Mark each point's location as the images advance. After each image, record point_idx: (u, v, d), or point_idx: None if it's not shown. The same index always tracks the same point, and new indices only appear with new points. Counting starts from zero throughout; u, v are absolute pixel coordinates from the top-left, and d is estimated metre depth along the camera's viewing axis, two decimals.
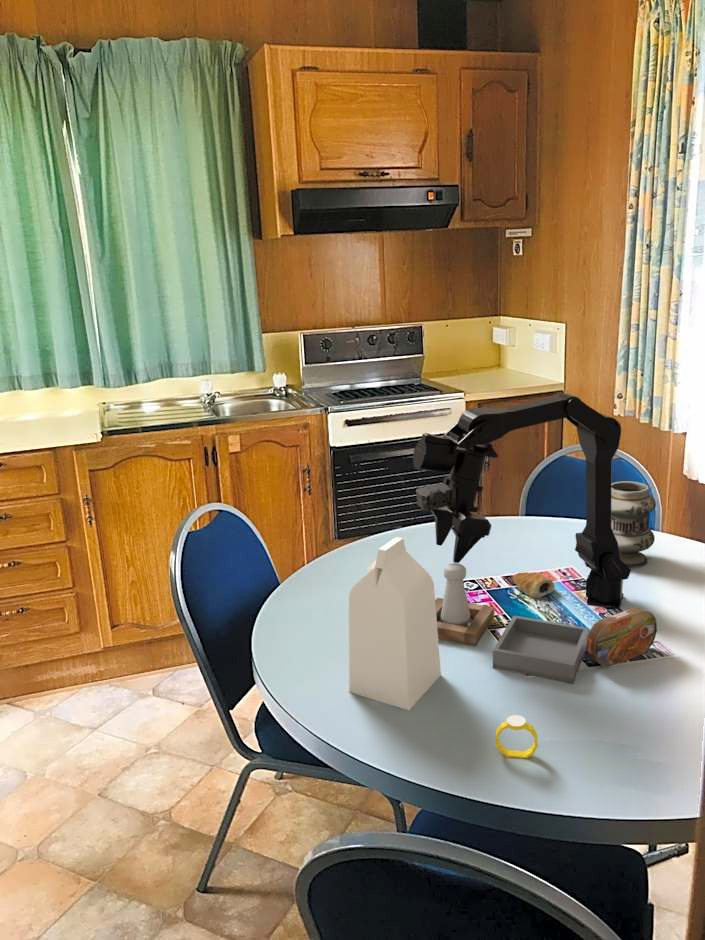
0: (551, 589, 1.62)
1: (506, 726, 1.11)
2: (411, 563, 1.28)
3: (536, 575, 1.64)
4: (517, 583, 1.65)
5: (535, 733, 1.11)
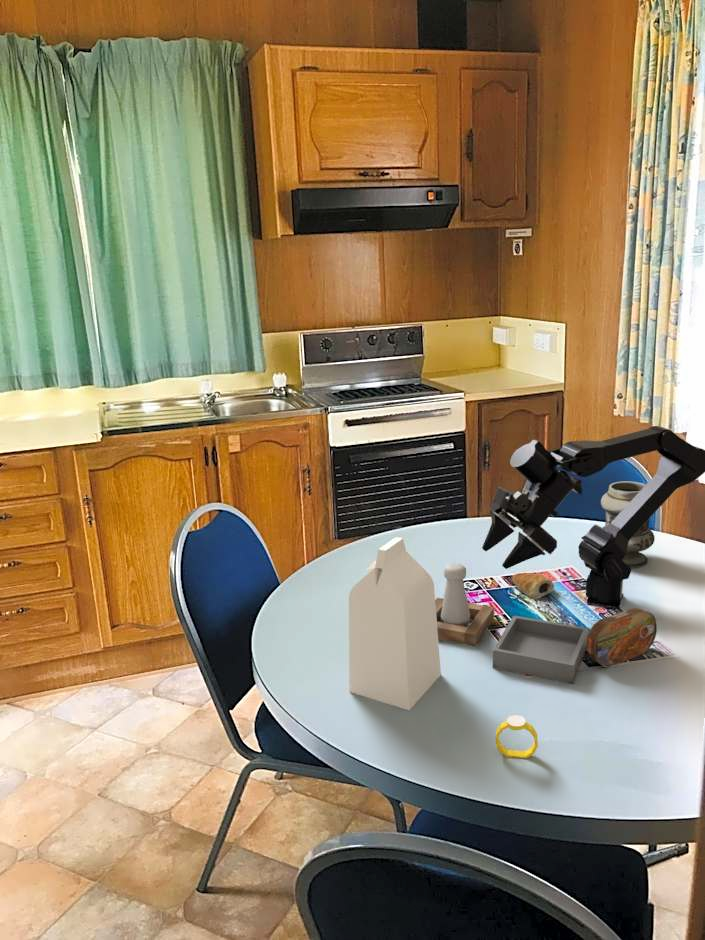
0: (551, 589, 1.62)
1: (506, 726, 1.11)
2: (411, 563, 1.28)
3: (535, 575, 1.64)
4: (516, 583, 1.65)
5: (535, 733, 1.11)
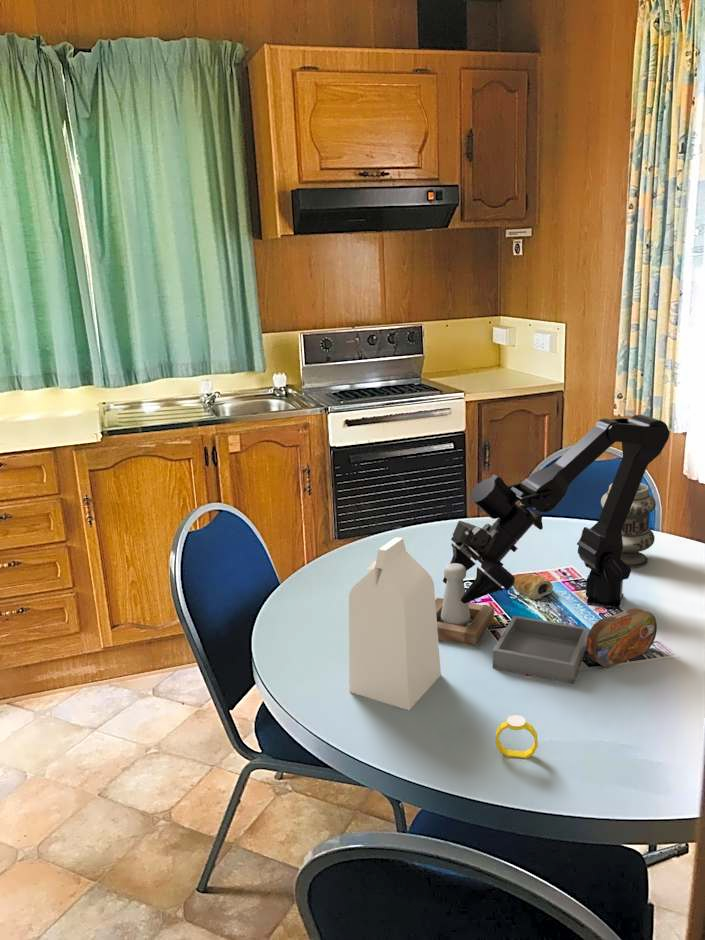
0: (550, 590, 1.62)
1: (506, 726, 1.11)
2: (411, 563, 1.28)
3: (534, 576, 1.63)
4: (515, 584, 1.65)
5: (535, 733, 1.11)
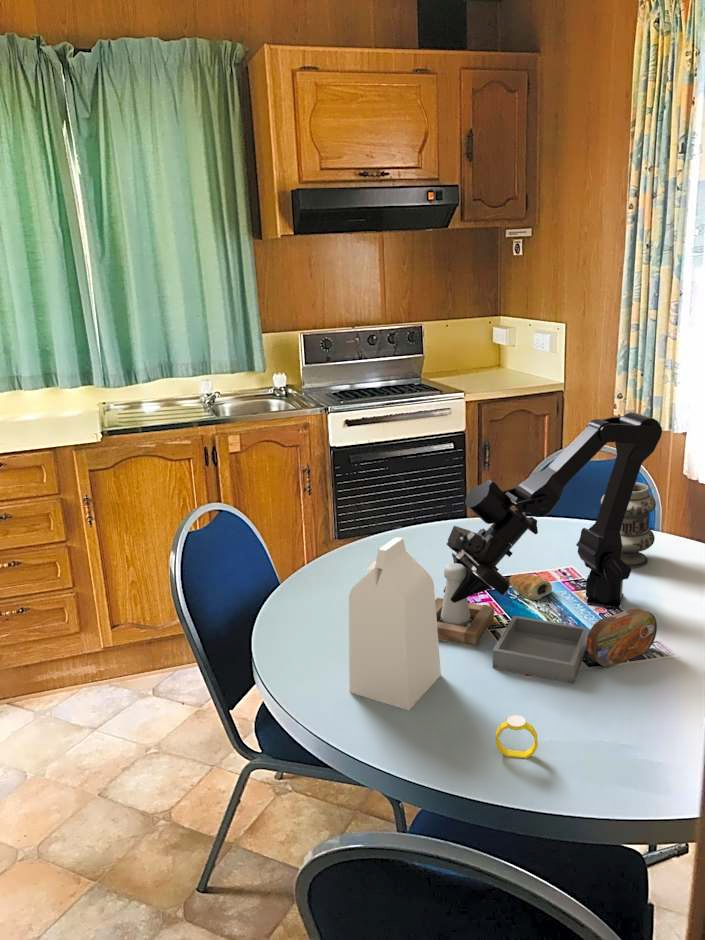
0: (549, 590, 1.62)
1: (506, 726, 1.11)
2: (411, 563, 1.28)
3: (533, 577, 1.63)
4: (514, 585, 1.64)
5: (535, 733, 1.11)
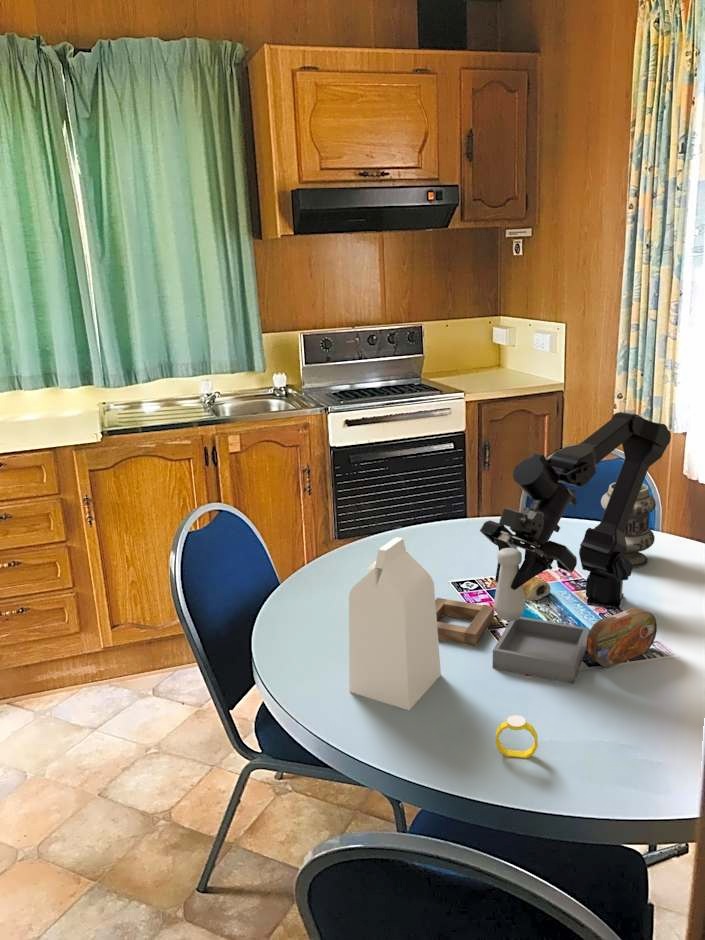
0: (548, 591, 1.62)
1: (506, 726, 1.11)
2: (411, 563, 1.28)
3: (532, 578, 1.63)
4: None
5: (535, 733, 1.11)
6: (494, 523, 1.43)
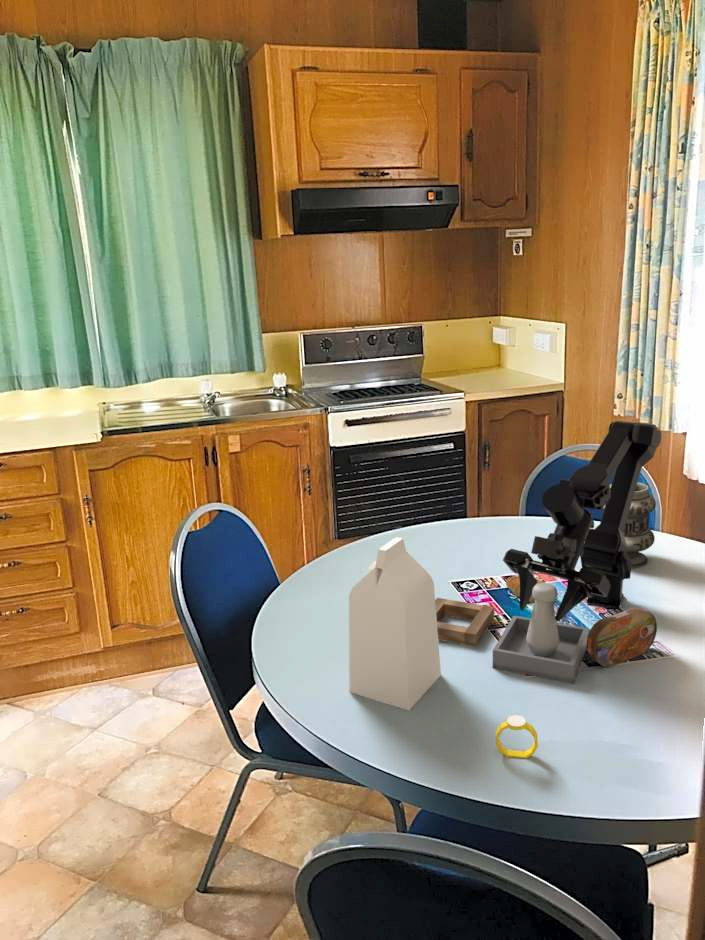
0: None
1: (506, 726, 1.11)
2: (411, 563, 1.28)
3: None
4: (511, 588, 1.63)
5: (535, 733, 1.11)
6: (517, 551, 1.41)
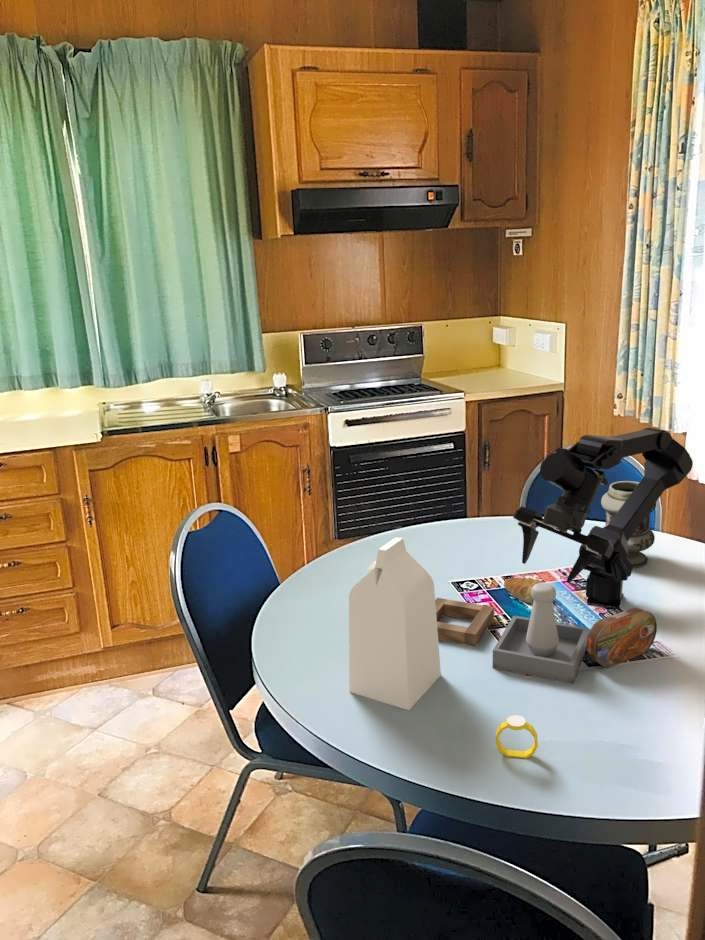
0: None
1: (506, 726, 1.11)
2: (411, 563, 1.28)
3: (529, 580, 1.62)
4: (510, 589, 1.63)
5: (535, 733, 1.11)
6: (528, 510, 1.48)
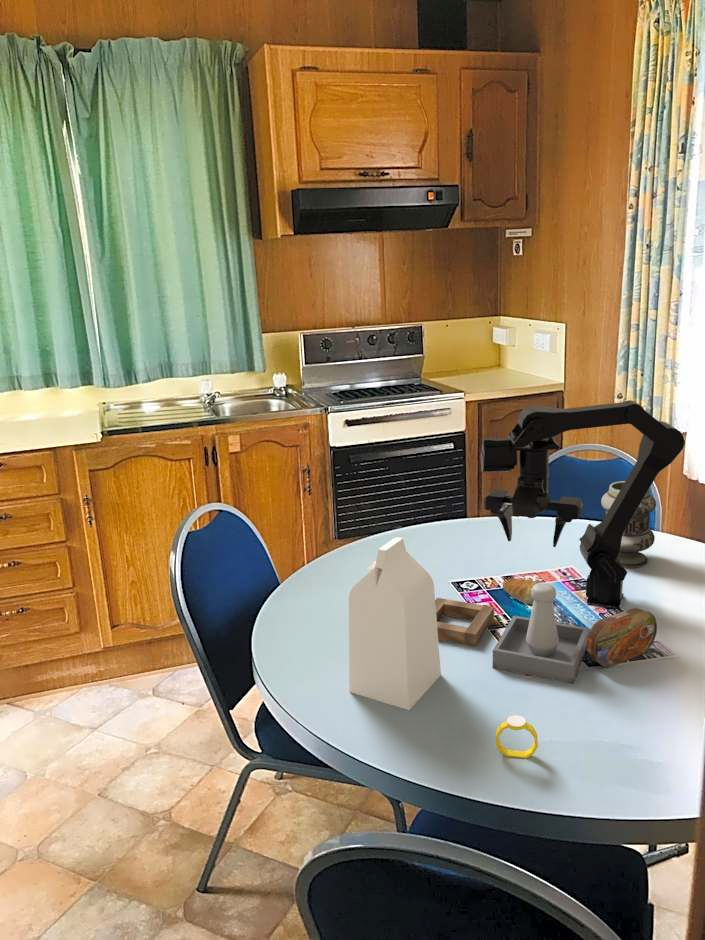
0: None
1: (506, 726, 1.11)
2: (411, 563, 1.28)
3: (527, 581, 1.61)
4: (508, 590, 1.62)
5: (535, 733, 1.11)
6: (494, 498, 1.54)
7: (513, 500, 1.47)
